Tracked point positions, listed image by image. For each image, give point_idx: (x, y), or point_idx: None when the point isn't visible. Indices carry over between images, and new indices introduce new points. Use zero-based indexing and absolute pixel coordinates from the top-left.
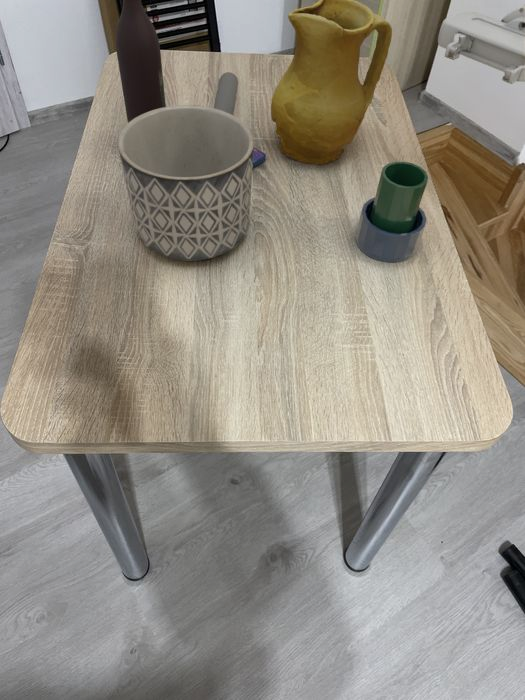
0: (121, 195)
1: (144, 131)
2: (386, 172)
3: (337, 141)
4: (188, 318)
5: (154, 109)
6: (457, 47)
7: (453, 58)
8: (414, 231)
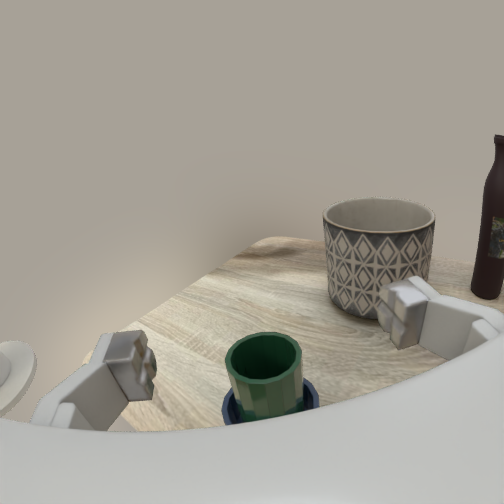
0: (430, 272)
1: (414, 214)
2: (294, 354)
3: None
4: (287, 280)
5: (482, 244)
6: (385, 285)
7: (378, 316)
8: (226, 404)
